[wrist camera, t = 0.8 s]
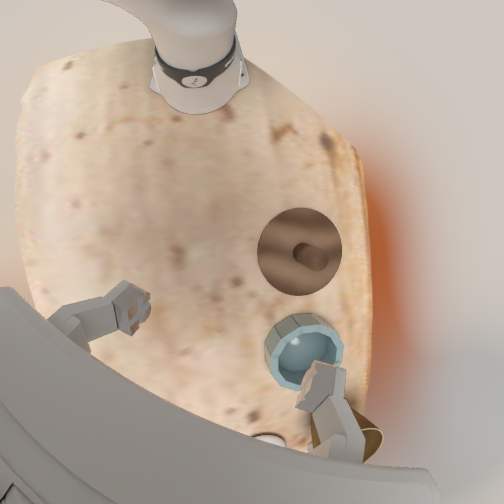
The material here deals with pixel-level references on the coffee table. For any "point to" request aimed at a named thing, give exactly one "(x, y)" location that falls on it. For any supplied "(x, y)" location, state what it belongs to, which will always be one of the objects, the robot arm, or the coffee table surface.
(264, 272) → the walnut lid
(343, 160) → the coffee table surface
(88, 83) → the coffee table surface
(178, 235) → the coffee table surface
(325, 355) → the ceramic bowl
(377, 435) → the plant pot
